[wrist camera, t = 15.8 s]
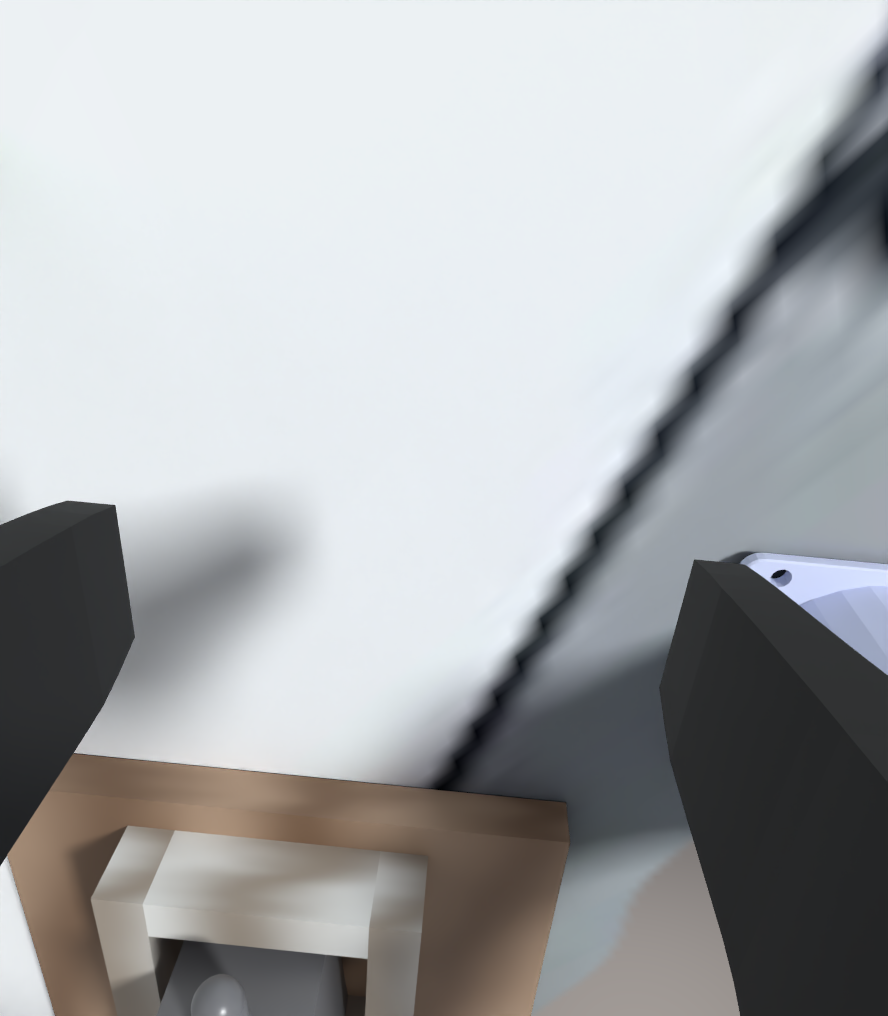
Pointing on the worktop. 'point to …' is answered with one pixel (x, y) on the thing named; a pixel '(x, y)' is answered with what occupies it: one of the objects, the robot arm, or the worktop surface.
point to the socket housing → (288, 885)
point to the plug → (253, 982)
